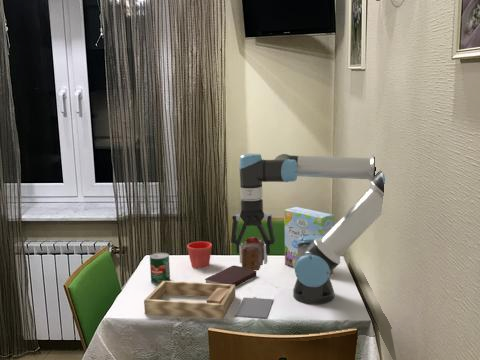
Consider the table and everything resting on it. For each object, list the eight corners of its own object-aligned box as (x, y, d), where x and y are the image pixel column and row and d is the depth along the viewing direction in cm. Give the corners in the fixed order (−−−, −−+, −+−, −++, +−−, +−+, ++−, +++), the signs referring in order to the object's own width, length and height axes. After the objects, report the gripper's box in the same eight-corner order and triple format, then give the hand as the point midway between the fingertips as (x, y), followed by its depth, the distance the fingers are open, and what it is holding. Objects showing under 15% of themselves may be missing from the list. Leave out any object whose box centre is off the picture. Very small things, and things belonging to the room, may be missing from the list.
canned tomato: (169, 276, 217) (168, 251, 215) (171, 283, 210) (170, 257, 208) (150, 278, 215) (148, 253, 214) (151, 285, 208) (150, 259, 206)
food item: (244, 258, 188) (243, 232, 186) (266, 258, 187) (265, 232, 185) (240, 271, 175) (239, 242, 173) (263, 271, 174) (263, 242, 172)
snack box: (283, 266, 228) (282, 209, 224) (296, 261, 234) (296, 206, 230) (321, 278, 212) (322, 217, 208) (334, 272, 218) (335, 213, 214)
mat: (272, 300, 190) (272, 299, 190) (266, 318, 175) (266, 317, 175) (243, 298, 192) (243, 297, 192) (234, 316, 177) (234, 315, 177)
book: (257, 277, 216) (256, 270, 215) (229, 292, 200) (228, 284, 200) (233, 272, 223) (232, 264, 223) (204, 285, 208) (204, 278, 207)
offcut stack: (231, 299, 192) (230, 287, 191) (221, 316, 177) (221, 303, 177) (215, 298, 193) (214, 286, 192) (204, 315, 179) (203, 302, 178)
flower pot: (198, 271, 223) (197, 249, 221) (183, 265, 231) (182, 244, 229) (217, 265, 230) (216, 244, 229) (202, 260, 238) (201, 240, 237)
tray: (235, 297, 194) (235, 284, 193) (223, 319, 175) (223, 305, 174) (163, 293, 199) (163, 280, 199) (144, 313, 181) (144, 300, 180)
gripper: (219, 200, 176) (222, 264, 179) (280, 201, 171) (281, 266, 175) (224, 196, 183) (227, 258, 187) (283, 196, 179) (284, 260, 182)
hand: (253, 262), depth 181 cm, fingers closed on food item, 8 cm apart
